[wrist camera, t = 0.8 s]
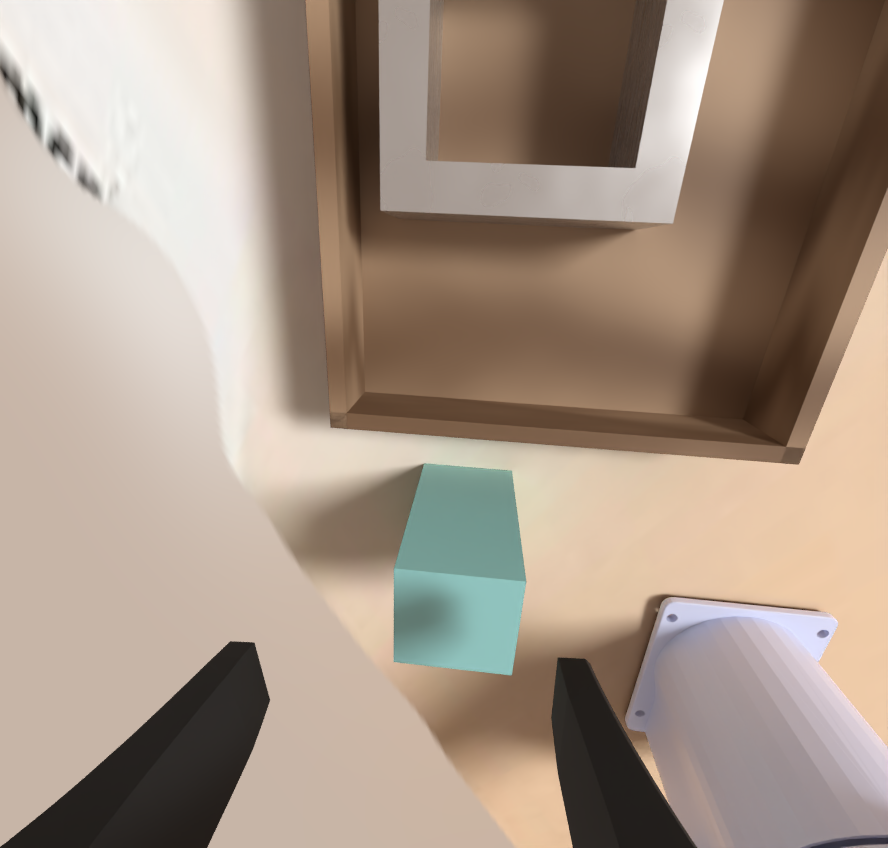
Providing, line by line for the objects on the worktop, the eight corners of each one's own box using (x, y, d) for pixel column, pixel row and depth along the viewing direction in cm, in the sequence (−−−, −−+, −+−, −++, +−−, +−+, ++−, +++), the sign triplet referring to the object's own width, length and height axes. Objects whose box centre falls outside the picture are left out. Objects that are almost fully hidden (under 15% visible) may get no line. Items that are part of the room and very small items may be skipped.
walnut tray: (739, 425, 17) (798, 464, 14) (357, 397, 18) (330, 427, 15) (964, -241, 10) (1180, -464, 7) (338, -226, 11) (280, -414, 8)
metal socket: (635, 230, 14) (673, 223, 11) (400, 219, 15) (380, 210, 12) (701, -103, 11) (775, -225, 8) (402, -102, 12) (376, -215, 9)
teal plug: (502, 542, 20) (511, 675, 14) (421, 535, 21) (393, 661, 14) (511, 470, 19) (525, 581, 13) (424, 463, 19) (394, 568, 13)
